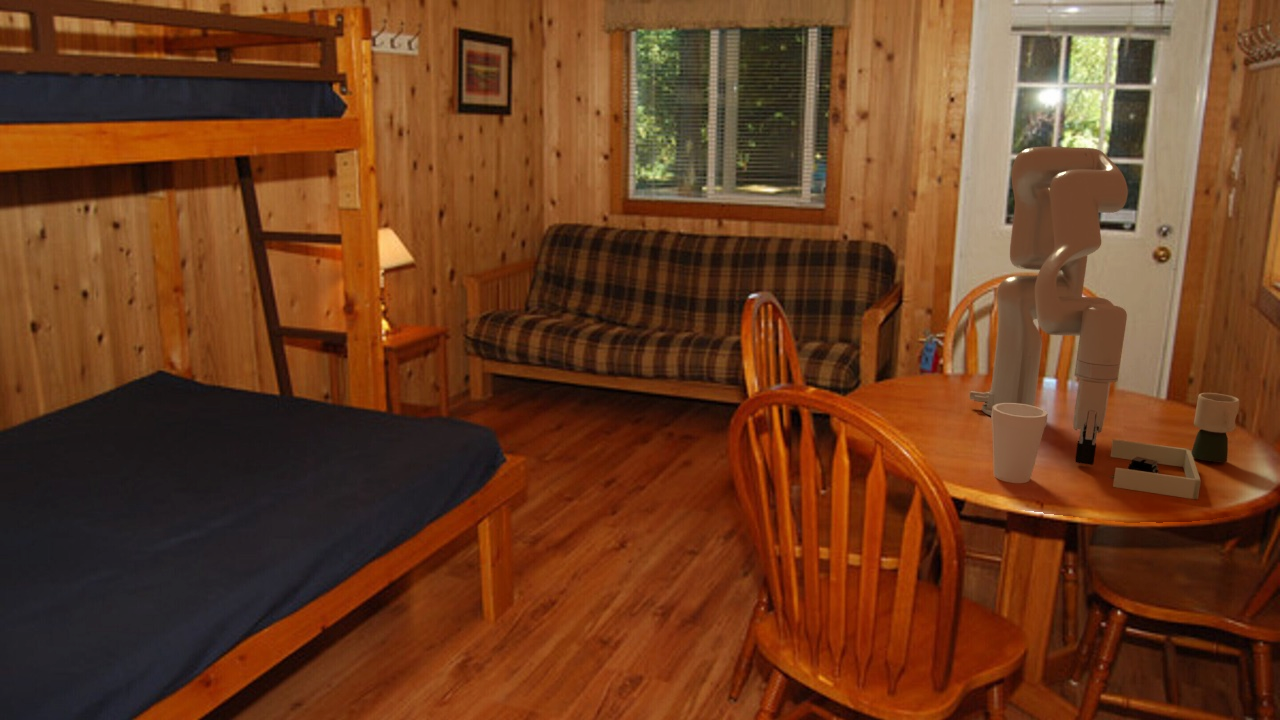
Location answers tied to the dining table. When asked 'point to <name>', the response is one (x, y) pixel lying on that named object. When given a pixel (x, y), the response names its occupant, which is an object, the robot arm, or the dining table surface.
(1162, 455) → the corral
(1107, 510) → the dining table surface
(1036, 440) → the foam cup
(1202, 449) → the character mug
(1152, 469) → the black piece
